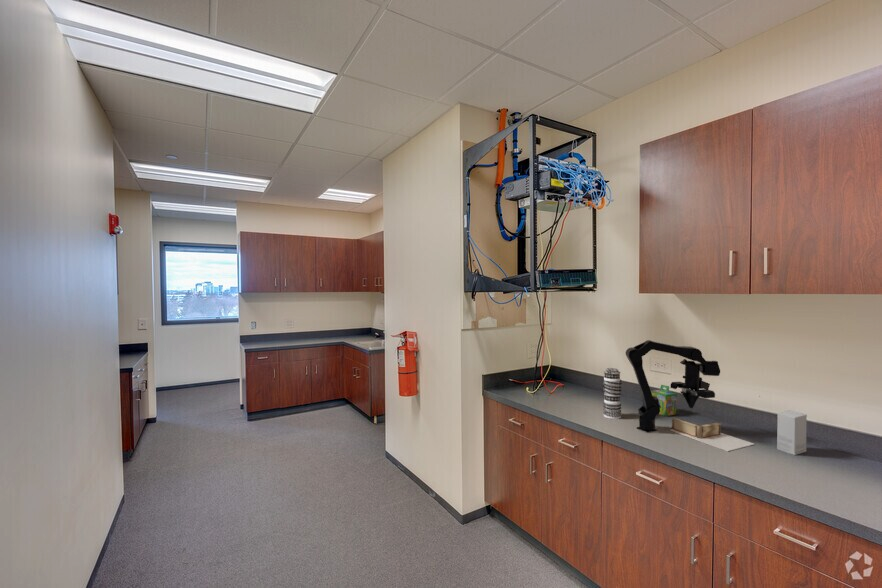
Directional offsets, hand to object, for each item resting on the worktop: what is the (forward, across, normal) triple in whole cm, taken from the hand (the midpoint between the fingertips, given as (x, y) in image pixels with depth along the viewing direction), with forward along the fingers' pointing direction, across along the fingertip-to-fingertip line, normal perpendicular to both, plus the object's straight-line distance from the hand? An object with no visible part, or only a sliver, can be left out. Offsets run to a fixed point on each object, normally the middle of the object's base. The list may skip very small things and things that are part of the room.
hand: (691, 407), depth 181 cm
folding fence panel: (+11, -6, -5) cm, 13 cm away
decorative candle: (+13, +30, +18) cm, 37 cm away
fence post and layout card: (+11, -6, -3) cm, 13 cm away
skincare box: (+11, -28, -21) cm, 37 cm away
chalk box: (+12, +26, -11) cm, 31 cm away
